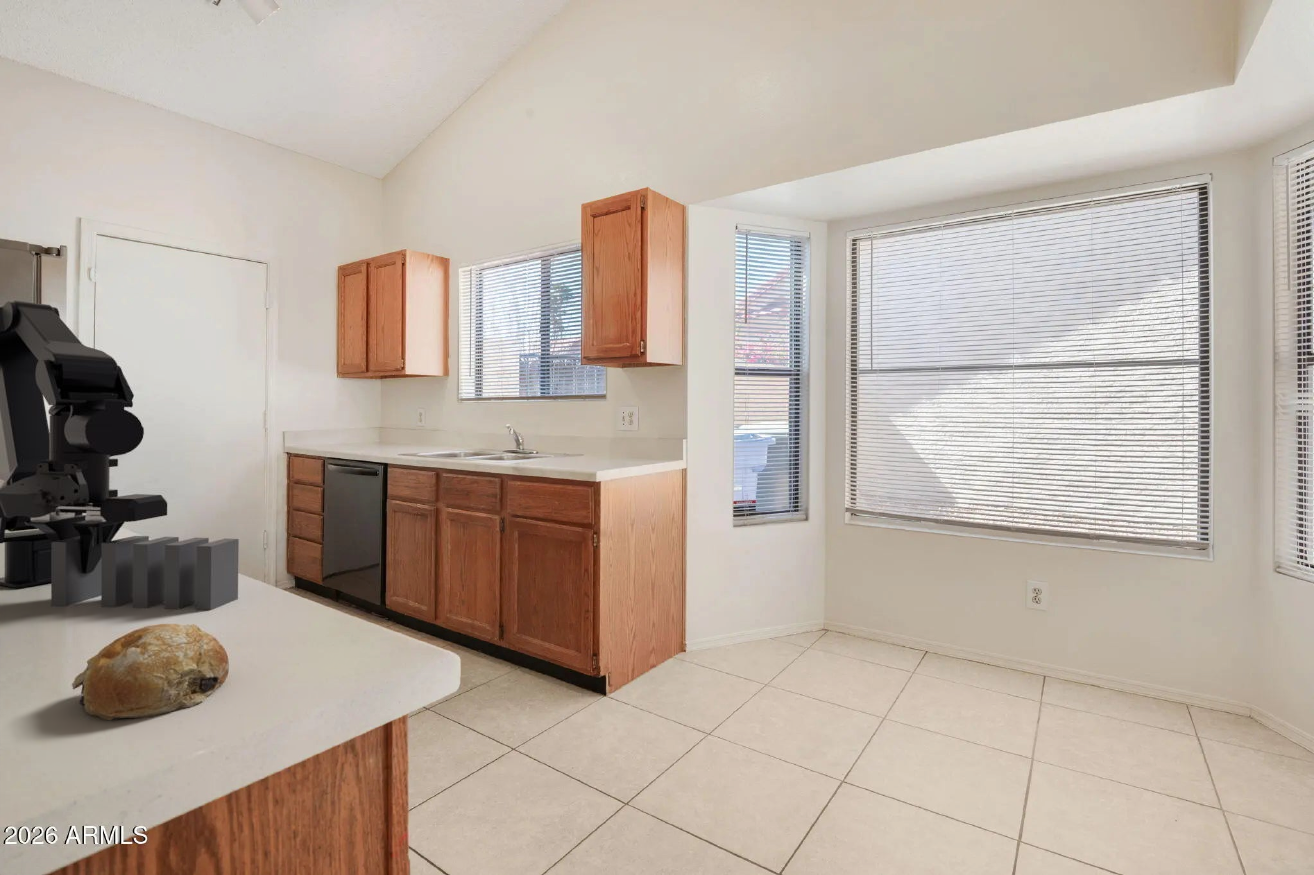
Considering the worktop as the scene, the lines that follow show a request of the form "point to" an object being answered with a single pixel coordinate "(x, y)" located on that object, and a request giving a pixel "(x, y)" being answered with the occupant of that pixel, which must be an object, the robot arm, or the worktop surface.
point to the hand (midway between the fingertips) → (79, 572)
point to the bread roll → (153, 672)
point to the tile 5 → (217, 573)
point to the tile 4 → (181, 572)
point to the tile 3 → (149, 572)
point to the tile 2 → (118, 571)
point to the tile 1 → (71, 574)
